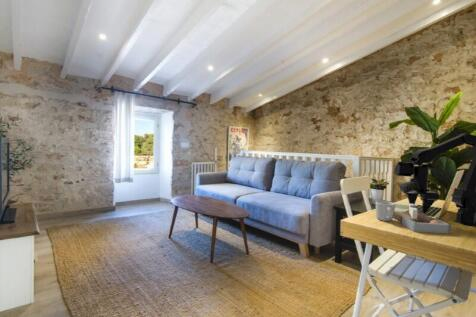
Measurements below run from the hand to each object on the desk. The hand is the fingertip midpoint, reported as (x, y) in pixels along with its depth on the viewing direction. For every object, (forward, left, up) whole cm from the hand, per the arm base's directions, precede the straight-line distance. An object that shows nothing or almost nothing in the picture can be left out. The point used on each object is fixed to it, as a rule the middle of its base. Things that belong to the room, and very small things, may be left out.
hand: (417, 210), depth 121 cm
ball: (+2, +14, -2) cm, 15 cm away
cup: (+17, +5, -4) cm, 18 cm away
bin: (+6, +14, -4) cm, 16 cm away
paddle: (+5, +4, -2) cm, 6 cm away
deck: (+4, +3, -4) cm, 7 cm away
